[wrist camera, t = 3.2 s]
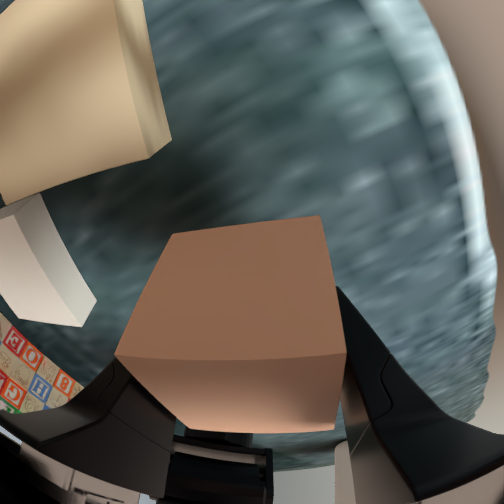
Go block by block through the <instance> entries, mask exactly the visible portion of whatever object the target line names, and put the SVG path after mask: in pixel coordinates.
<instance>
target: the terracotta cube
mask: <svg viewBox="0 0 504 504" xmlns="http://www.w3.org/2000/svg"><path fill="white" fill-rule="evenodd" d="M346 354H347V351H346V345H345V338H344V332H343V326H342V320H341V314H340V308H339V303H338V297H337V292H336V287H335V282H334V277H333V272H332V267H331V262H330V257H329V253H328V248H327V244H326V239H325V235H324V231H323V227H322V222H321V218H320V215H318V216H308V217H299V218H290V219H282V220H273V221H265V222H257V223H249V224H241V225H233V226H225V227H218V228H210V229H203V230H196V231H188V232H181V233H174V234H172V236H171V237H170V239H169V241H168V243H167V245H166V247H165V249H164V250H163V252H162V254H161V256H160V258H159V260H158V262H157V264H156V266H155V268H154V270H153V272H152V274H151V276H150V278H149V280H148V282H147V284H146V286H145V288H144V290H143V292H142V294H141V296H140V298H139V300H138V302H137V304H136V306H135V308H134V311H133V313H132V315H131V317H130V319H129V321H128V324H127V326H126V328H125V330H124V333H123V335H122V337H121V339H120V342H119V344H118V346H117V349H116V351H115V353H114V355H115V356H116V357H117V359H118V360H119V361H120V362H121V363H122V364H123V365H124V366H125V367H126V369H127V370H128V371H129V372H130V373H131V374H132V375H133V376H134V377H135V378H136V379H137V380H138V381H139V382H140V383H141V384H142V385H143V386H144V387H145V388H146V389H147V390H148V391H149V392H150V393H151V394H152V395H153V396H154V397H155V398H156V399H157V400H158V401H159V402H160V403H161V404H162V405H164V406H165V407H166V408H167V409H168V410H169V411H170V412H171V413H172V414H173V415H175V416H176V417H177V418H178V419H179V420H180V421H181V422H183V423H184V424H185V425H186V426H187V427H189V428H190V429H197V430H207V431H220V432H237V433H294V432H311V431H324V430H334V425H335V420H336V415H337V410H338V405H339V399H340V394H341V388H342V382H343V375H344V368H345V361H346Z"/></svg>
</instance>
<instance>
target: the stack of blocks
mask: <svg viewBox="0 0 504 504" xmlns="http://www.w3.org/2000/svg"><path fill="white" fill-rule="evenodd" d="M83 388H84V387H83V386H81V385H80V384H79V383H77V382H76V381H75V380H74V379H72V378H71V377H70V376H69V375H67V374H66V373H65V372H64V371H62V370H61V369H60V368H59V367H58V366H56V365H55V364H54V363H53V362H52V361H51V360H49V359H48V358H47V357H46V356H44V355H43V354H42V353H41V352H40V351H39V350H38V349H37V348H36V347H34V346H33V345H32V344H31V343H30V342H29V341H28V340H27V339H26V338H25V337H24V336H23V335H22V334H21V333H20V332H19V331H18V330H17V329H16V328H15V327H14V326H12V324H11V323H10V322H9V321H8V320H7V319H6V318H5V317H4V315H3V314H2V313H1V312H0V410H1V409H4V410H6V411H8V412H9V413H15V414H18V413H26V412H33V411H39V410H45V409H51V408H56V407H59V406H62V405H64V404H65V403H67V402H68V401H70V400H71V399H72V398H73V397H74V396H75V395H76V394H78V393H79V392H80V391H81V390H82V389H83Z"/></svg>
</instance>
